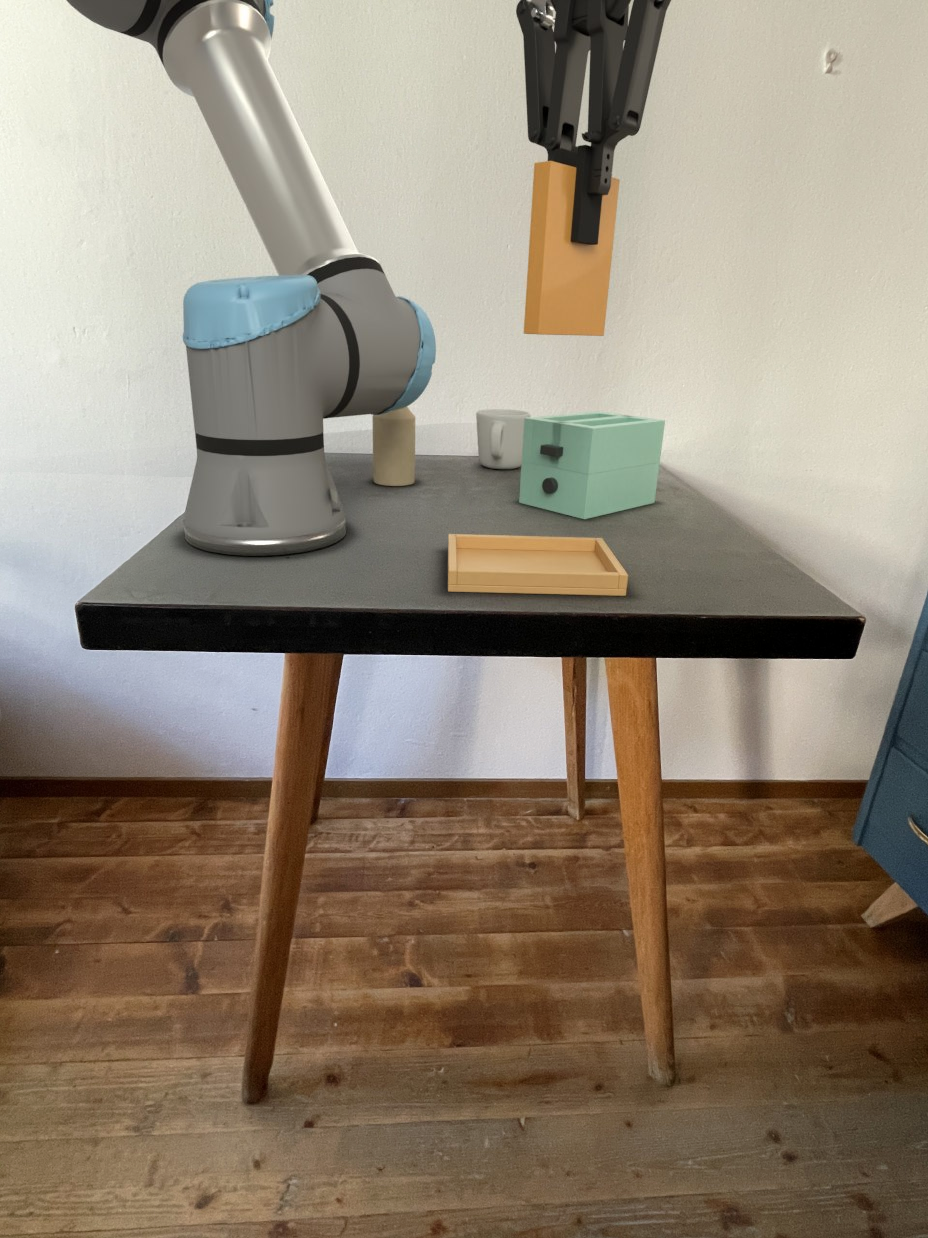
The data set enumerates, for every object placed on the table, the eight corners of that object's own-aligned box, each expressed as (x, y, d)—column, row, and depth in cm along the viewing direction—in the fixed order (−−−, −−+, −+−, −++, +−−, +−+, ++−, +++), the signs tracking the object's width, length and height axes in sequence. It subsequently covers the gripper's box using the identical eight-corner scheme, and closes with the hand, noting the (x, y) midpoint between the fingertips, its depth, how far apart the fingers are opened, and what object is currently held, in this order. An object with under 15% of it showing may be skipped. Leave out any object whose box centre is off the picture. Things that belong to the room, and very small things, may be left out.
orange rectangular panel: (523, 333, 60) (534, 162, 55) (589, 334, 66) (603, 180, 61) (538, 334, 59) (550, 160, 54) (603, 335, 65) (620, 178, 60)
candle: (416, 478, 101) (417, 402, 97) (413, 487, 96) (413, 407, 92) (376, 477, 101) (375, 401, 97) (370, 485, 96) (369, 405, 92)
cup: (521, 477, 104) (524, 418, 101) (465, 473, 105) (467, 415, 102) (530, 464, 114) (533, 410, 111) (479, 460, 115) (481, 407, 112)
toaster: (512, 504, 89) (517, 418, 85) (590, 488, 98) (597, 411, 95) (577, 521, 82) (586, 428, 78) (654, 502, 92) (665, 420, 88)
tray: (447, 591, 59) (448, 570, 58) (447, 552, 69) (448, 533, 69) (625, 596, 60) (628, 575, 59) (600, 556, 70) (602, 537, 69)
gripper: (729, -154, 49) (676, 244, 58) (555, -83, 58) (533, 250, 67) (670, -212, 44) (623, 234, 53) (490, -124, 53) (476, 242, 62)
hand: (572, 242), depth 60 cm, fingers closed on orange rectangular panel, 1 cm apart
